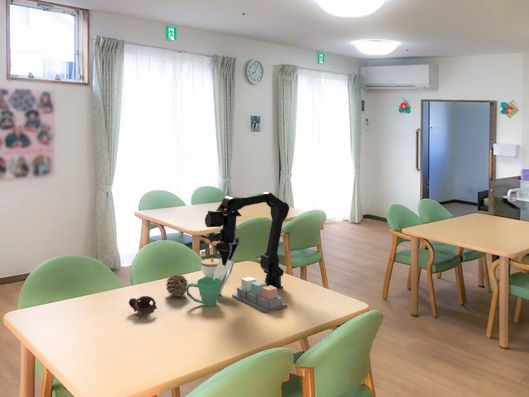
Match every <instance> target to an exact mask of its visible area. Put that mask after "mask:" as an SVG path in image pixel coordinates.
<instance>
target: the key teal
mask: <svg viewBox="0 0 529 397" xmlns="http://www.w3.org/2000/svg"><path fill="white" fill-rule="evenodd" d="M262 287H266V283H265V281H260V280H258V281H256V282H253V283H251V293H253V294H255V295H261V294H262Z"/></svg>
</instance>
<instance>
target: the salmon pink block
mask: <svg viewBox="0 0 529 397" xmlns="http://www.w3.org/2000/svg"><path fill="white" fill-rule="evenodd" d="M277 296H278V289H277V288H276V287H273V286H271V285H270V286H266V287H262V298H264V299H266V300H272V299H276V298H277Z"/></svg>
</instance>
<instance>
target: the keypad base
mask: <svg viewBox="0 0 529 397" xmlns="http://www.w3.org/2000/svg"><path fill="white" fill-rule="evenodd" d="M232 298H235V299H236V300H238V301H241V302H242V303H244V304H246V305H249V306H250V307H252V308H254V309H257V310H258V311H261V312H262V313H265V314H267V313H270V312H273V311H278V310H282V309H285V308H288V304H286V303H284V302H283V297H282V296H280V295H277V298H276V299H272V300H266V299H264V298H262V294H261V295H255V294H253V293H251V290H248V291H246V290H244V289H242V288H241V285H240V286H238V287H236V293H232Z"/></svg>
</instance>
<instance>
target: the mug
mask: <svg viewBox="0 0 529 397" xmlns="http://www.w3.org/2000/svg"><path fill="white" fill-rule="evenodd" d="M187 284H188V285H187V286H186V291H185V292H186V295H187V297H189V298H190V299H191V300H192V301H193V302H196V303H199V304H201V305H204V306H206V307H213V306H216V305H217V302H218V299H219V296H220V294H219V292H220V287H221V279H219V278H215V281H214V279H213V277H207V278H206V277H203V278H200V279H198V280H197V282H196V283H194V282H190V283H187ZM192 287H193V288H198V291H199V296H200V298H201V299H199V298H195V296H193V295H192V294H191V293H190V292H189V291H190V290H189V288H192Z"/></svg>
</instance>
